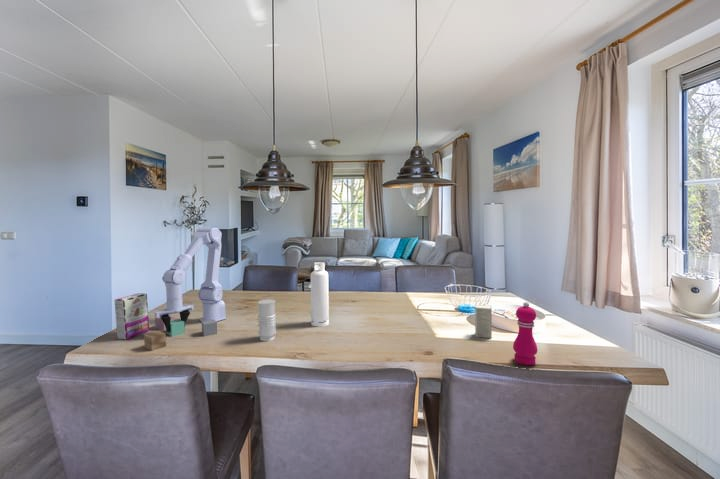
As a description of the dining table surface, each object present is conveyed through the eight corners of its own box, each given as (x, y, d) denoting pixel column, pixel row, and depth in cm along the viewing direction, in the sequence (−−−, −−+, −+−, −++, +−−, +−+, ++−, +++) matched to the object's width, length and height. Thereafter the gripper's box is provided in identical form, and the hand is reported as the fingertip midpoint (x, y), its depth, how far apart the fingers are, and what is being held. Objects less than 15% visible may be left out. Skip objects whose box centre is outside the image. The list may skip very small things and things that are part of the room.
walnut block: (158, 344, 126) (157, 331, 126) (166, 346, 123) (165, 333, 123) (144, 348, 121) (144, 335, 121) (152, 351, 119) (151, 337, 119)
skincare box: (491, 334, 134) (491, 305, 133) (491, 338, 129) (492, 308, 129) (474, 333, 136) (475, 304, 135) (474, 336, 131) (475, 307, 131)
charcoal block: (214, 330, 141) (214, 319, 140) (217, 334, 136) (216, 322, 136) (202, 333, 138) (201, 321, 137) (204, 336, 134) (203, 324, 133)
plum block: (165, 325, 148) (165, 314, 148) (174, 326, 146) (173, 315, 146) (155, 328, 143) (155, 317, 143) (164, 330, 142) (163, 318, 141)
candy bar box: (139, 330, 142) (138, 292, 141) (149, 330, 141) (147, 293, 140) (115, 339, 131) (113, 299, 130) (126, 340, 130) (124, 299, 129)
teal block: (179, 330, 141) (179, 319, 140) (184, 333, 138) (184, 321, 137) (167, 333, 137) (166, 322, 137) (171, 336, 134) (171, 324, 133)
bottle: (307, 325, 147) (306, 263, 145) (316, 320, 154) (316, 261, 153) (323, 327, 144) (322, 264, 142) (332, 322, 151) (331, 262, 150)
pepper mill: (514, 354, 114) (516, 298, 113) (538, 359, 110) (539, 301, 109) (510, 362, 108) (512, 302, 107) (535, 367, 104) (537, 306, 103)
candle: (260, 342, 126) (259, 304, 125) (257, 337, 132) (256, 300, 132) (278, 339, 129) (277, 302, 129) (274, 334, 136) (273, 298, 135)
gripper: (158, 303, 128) (160, 337, 129) (196, 296, 139) (197, 327, 140) (152, 300, 133) (153, 333, 134) (189, 294, 144) (190, 324, 145)
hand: (175, 330), depth 137 cm, fingers closed on teal block, 5 cm apart
